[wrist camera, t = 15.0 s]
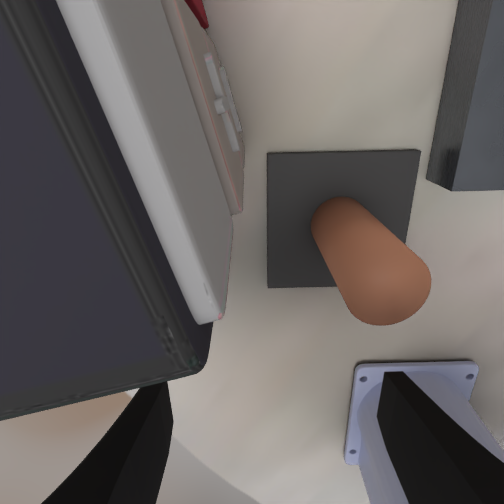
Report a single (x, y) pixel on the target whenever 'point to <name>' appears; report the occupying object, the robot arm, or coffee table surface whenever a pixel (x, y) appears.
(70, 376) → the red and grey box
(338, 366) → the coffee table surface
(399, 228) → the mat
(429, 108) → the coffee table surface
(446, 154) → the chuck plate
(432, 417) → the robot arm
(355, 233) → the cylinder
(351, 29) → the coffee table surface
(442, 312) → the coffee table surface
